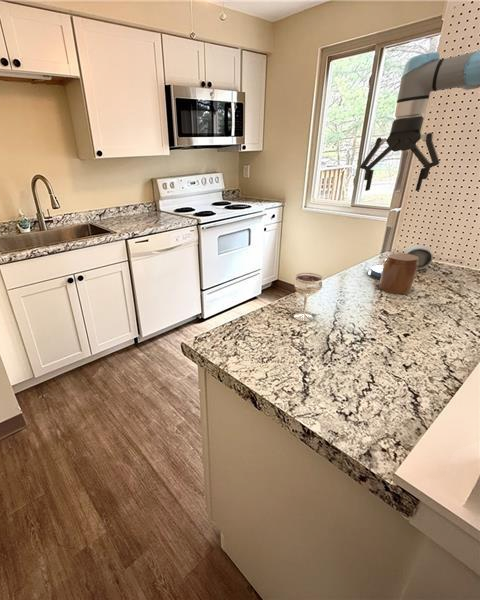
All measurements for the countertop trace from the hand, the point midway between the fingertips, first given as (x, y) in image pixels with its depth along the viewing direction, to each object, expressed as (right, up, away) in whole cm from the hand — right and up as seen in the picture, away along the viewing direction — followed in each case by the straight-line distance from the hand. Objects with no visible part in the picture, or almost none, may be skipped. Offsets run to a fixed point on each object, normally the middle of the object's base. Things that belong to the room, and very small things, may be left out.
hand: (391, 190), depth 104 cm
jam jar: (-5, -33, -7) cm, 34 cm away
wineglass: (-38, -42, -17) cm, 59 cm away
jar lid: (0, -27, +2) cm, 27 cm away
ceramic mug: (+13, -25, +8) cm, 29 cm away
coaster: (0, -29, +2) cm, 29 cm away
